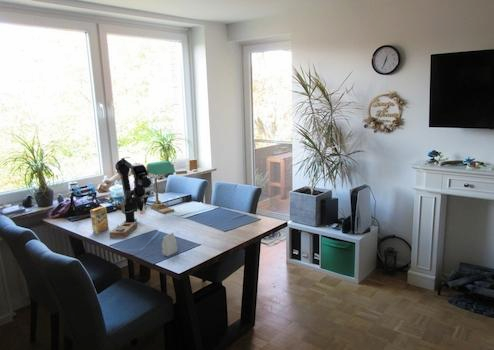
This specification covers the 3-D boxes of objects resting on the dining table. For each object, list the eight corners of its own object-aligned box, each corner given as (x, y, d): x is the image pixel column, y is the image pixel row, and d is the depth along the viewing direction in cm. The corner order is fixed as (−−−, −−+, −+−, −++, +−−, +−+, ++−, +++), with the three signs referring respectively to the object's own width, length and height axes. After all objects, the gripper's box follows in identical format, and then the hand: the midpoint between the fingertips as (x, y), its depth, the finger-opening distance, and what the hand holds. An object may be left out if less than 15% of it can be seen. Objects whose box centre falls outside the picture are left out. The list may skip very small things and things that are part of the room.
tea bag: (177, 251, 202) (175, 233, 200) (167, 256, 197) (166, 237, 195) (172, 250, 204) (170, 232, 202) (162, 254, 199) (161, 236, 197)
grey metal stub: (119, 233, 230) (118, 224, 228) (124, 233, 229) (123, 224, 228) (117, 235, 227) (116, 225, 226) (122, 235, 226) (121, 225, 225)
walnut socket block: (123, 228, 242) (122, 222, 241) (137, 228, 241) (136, 222, 240) (110, 239, 224) (109, 232, 224) (125, 239, 223) (124, 232, 223)
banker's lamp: (165, 205, 292) (161, 159, 285) (179, 210, 276) (176, 162, 270) (146, 209, 283) (141, 162, 276) (159, 215, 267) (155, 165, 260)
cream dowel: (141, 212, 240) (139, 198, 238) (145, 212, 239) (144, 198, 238) (139, 214, 237) (138, 200, 235) (144, 214, 236) (142, 199, 235)
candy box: (97, 235, 232) (94, 210, 229) (92, 234, 235) (89, 209, 232) (109, 230, 240) (106, 206, 237) (104, 229, 242) (101, 205, 239)
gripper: (132, 182, 244) (135, 205, 248) (120, 189, 226) (123, 214, 229) (150, 181, 243) (152, 205, 246) (139, 188, 225) (141, 214, 228)
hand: (142, 210), depth 238 cm, fingers closed on cream dowel, 3 cm apart
